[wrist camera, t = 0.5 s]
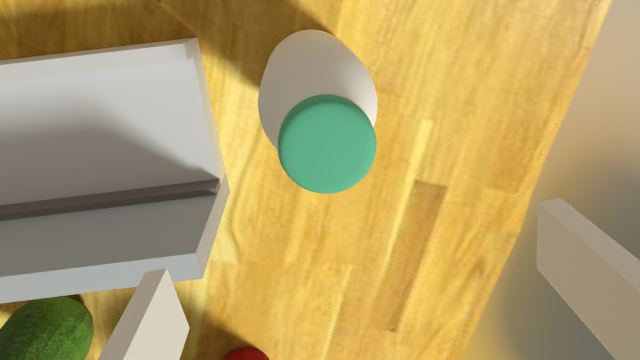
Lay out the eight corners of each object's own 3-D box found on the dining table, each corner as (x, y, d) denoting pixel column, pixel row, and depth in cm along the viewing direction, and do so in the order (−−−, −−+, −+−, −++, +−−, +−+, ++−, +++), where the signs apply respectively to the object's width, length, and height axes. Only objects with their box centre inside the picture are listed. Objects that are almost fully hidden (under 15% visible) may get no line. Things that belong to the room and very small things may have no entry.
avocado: (116, 333, 48) (64, 435, 37) (43, 340, 48) (-32, 444, 37) (97, 272, 45) (33, 364, 34) (18, 279, 45) (-71, 373, 34)
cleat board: (-22, 221, 42) (-161, 323, 29) (-93, 71, 36) (-304, 114, 23) (229, 191, 42) (202, 278, 29) (197, 37, 37) (145, 61, 24)
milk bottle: (255, 39, 37) (220, 86, 19) (346, 19, 37) (400, 45, 18) (278, 126, 40) (266, 240, 22) (361, 107, 40) (421, 207, 21)
